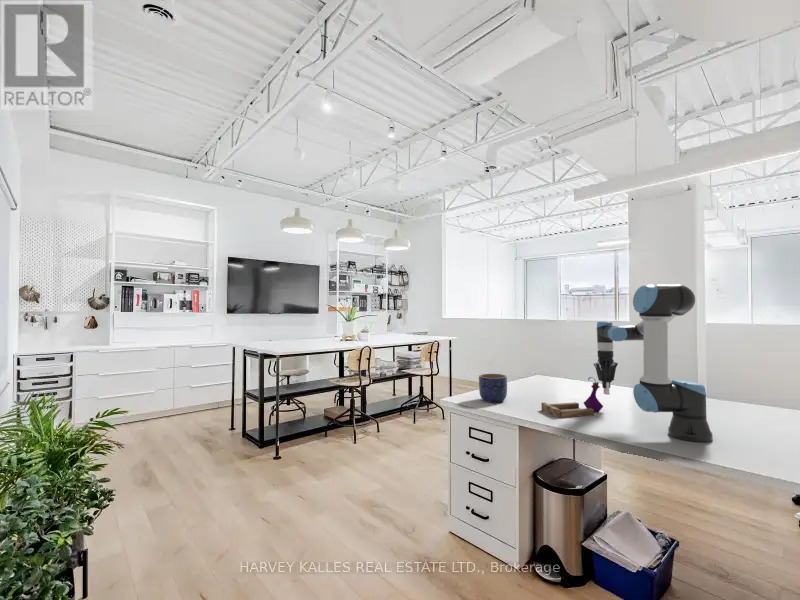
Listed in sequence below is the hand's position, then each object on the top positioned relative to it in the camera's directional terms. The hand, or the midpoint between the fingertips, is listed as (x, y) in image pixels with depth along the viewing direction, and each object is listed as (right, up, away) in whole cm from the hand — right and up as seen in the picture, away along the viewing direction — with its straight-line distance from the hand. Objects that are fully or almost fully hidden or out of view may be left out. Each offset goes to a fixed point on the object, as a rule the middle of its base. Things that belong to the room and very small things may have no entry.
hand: (606, 394), depth 210 cm
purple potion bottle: (-8, -9, -2) cm, 12 cm away
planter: (-55, -10, +25) cm, 61 cm away
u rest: (-23, -9, -4) cm, 25 cm away
